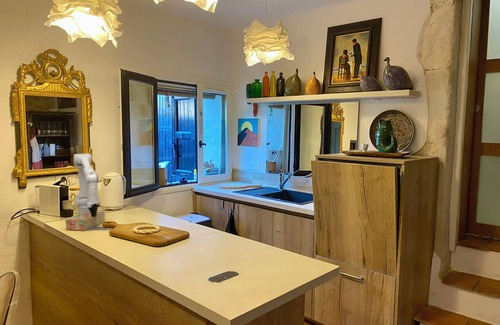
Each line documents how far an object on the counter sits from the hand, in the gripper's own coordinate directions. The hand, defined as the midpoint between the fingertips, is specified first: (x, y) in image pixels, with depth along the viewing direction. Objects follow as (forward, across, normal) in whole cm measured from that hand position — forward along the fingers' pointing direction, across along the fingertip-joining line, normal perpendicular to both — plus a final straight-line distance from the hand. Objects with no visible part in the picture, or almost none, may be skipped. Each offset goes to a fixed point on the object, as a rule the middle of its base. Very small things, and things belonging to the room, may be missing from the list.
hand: (93, 216), depth 217 cm
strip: (+8, +2, 0) cm, 8 cm away
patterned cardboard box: (+4, +8, +2) cm, 9 cm away
